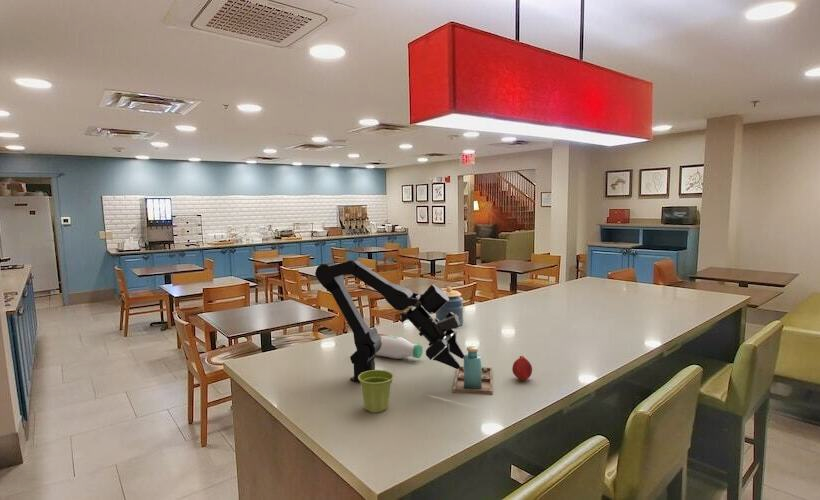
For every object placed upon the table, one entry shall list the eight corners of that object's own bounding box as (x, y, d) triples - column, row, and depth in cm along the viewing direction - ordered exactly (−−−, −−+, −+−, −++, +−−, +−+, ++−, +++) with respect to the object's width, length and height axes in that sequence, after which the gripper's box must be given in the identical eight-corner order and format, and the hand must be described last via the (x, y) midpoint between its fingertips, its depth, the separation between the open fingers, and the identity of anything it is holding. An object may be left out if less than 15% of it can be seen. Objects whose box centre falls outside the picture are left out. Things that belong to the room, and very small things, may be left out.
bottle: (473, 391, 125) (473, 351, 124) (460, 386, 129) (459, 347, 128) (485, 386, 128) (485, 348, 127) (471, 381, 132) (471, 344, 131)
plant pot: (394, 399, 121) (393, 369, 121) (394, 415, 112) (393, 382, 111) (360, 400, 121) (359, 370, 120) (357, 416, 112) (356, 383, 111)
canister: (431, 322, 208) (430, 285, 207) (456, 319, 212) (456, 283, 211) (441, 328, 196) (441, 289, 195) (468, 326, 200) (467, 287, 198)
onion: (517, 376, 137) (517, 351, 137) (535, 380, 134) (535, 354, 133) (509, 381, 133) (509, 355, 132) (527, 386, 129) (527, 359, 128)
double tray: (492, 396, 123) (492, 390, 122) (453, 393, 125) (453, 388, 124) (492, 372, 141) (492, 366, 141) (457, 370, 143) (457, 365, 143)
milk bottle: (370, 358, 161) (418, 367, 152) (363, 343, 157) (412, 352, 148) (380, 342, 167) (427, 350, 157) (373, 328, 163) (421, 335, 153)
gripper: (437, 312, 120) (477, 355, 118) (449, 299, 138) (484, 336, 136) (409, 338, 122) (448, 380, 120) (424, 322, 140) (458, 359, 138)
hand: (461, 362), depth 129 cm, fingers open, 9 cm apart
